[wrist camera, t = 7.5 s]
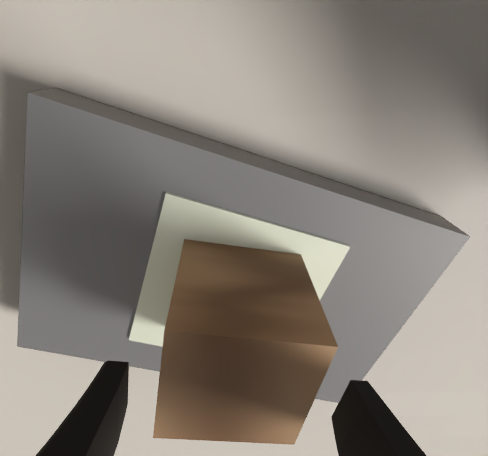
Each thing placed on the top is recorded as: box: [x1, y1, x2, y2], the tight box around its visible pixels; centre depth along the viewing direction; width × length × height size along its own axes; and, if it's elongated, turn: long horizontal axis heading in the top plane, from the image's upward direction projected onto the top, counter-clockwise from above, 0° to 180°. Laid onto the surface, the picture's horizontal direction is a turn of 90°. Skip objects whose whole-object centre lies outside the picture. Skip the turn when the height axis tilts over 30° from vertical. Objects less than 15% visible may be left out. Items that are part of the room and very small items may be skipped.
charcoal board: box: [17, 88, 470, 403], centre depth 15 cm, size 18×12×2 cm, turn 71°
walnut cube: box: [153, 239, 338, 444], centre depth 12 cm, size 5×5×5 cm
